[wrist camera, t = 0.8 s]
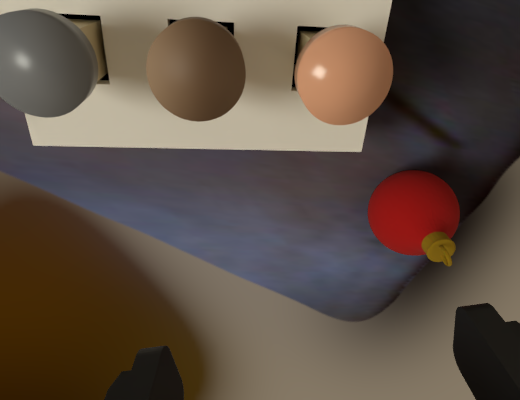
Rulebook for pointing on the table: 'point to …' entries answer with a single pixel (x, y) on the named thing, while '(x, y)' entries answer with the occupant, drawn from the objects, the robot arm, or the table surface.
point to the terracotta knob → (342, 73)
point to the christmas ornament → (415, 215)
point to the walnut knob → (196, 69)
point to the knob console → (255, 89)
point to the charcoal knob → (49, 61)
